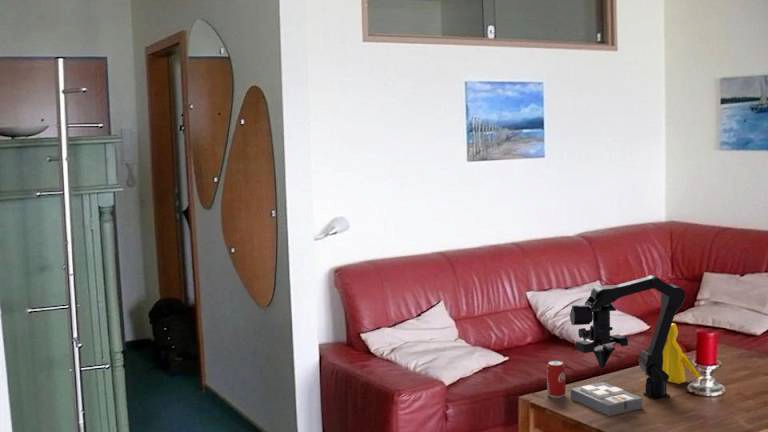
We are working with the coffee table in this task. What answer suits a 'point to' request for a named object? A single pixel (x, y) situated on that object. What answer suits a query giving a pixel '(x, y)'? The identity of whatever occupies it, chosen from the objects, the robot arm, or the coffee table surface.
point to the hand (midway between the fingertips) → (601, 367)
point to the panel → (608, 401)
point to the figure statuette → (675, 359)
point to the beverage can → (555, 379)
